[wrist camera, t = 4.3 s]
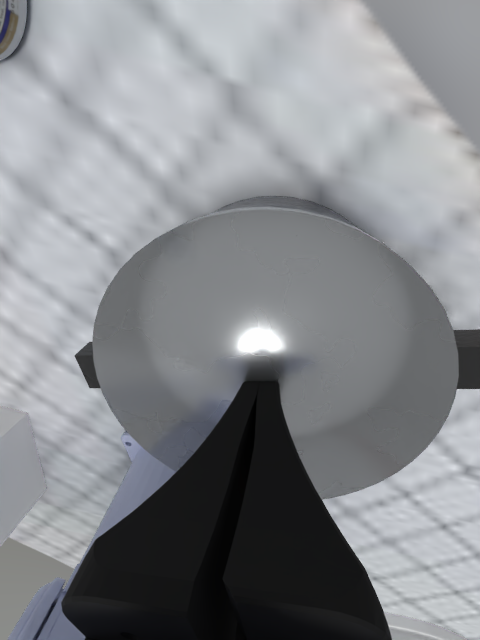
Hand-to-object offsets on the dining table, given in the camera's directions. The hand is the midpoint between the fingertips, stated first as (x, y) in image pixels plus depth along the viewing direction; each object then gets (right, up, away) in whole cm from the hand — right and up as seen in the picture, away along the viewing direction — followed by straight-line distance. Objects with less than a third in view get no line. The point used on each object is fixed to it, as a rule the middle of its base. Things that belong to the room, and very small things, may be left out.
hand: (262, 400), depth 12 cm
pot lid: (0, 0, +1) cm, 1 cm away
